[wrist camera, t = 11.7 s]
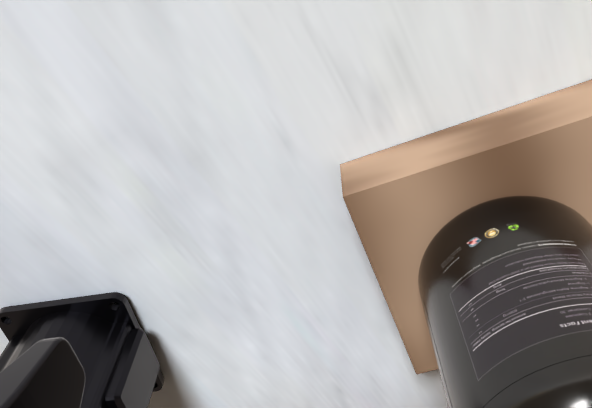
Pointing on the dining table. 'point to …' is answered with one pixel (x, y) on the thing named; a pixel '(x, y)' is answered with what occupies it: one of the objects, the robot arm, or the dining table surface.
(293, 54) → the dining table surface
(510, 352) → the supplement bottle
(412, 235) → the tan flat square block
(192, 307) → the dining table surface
